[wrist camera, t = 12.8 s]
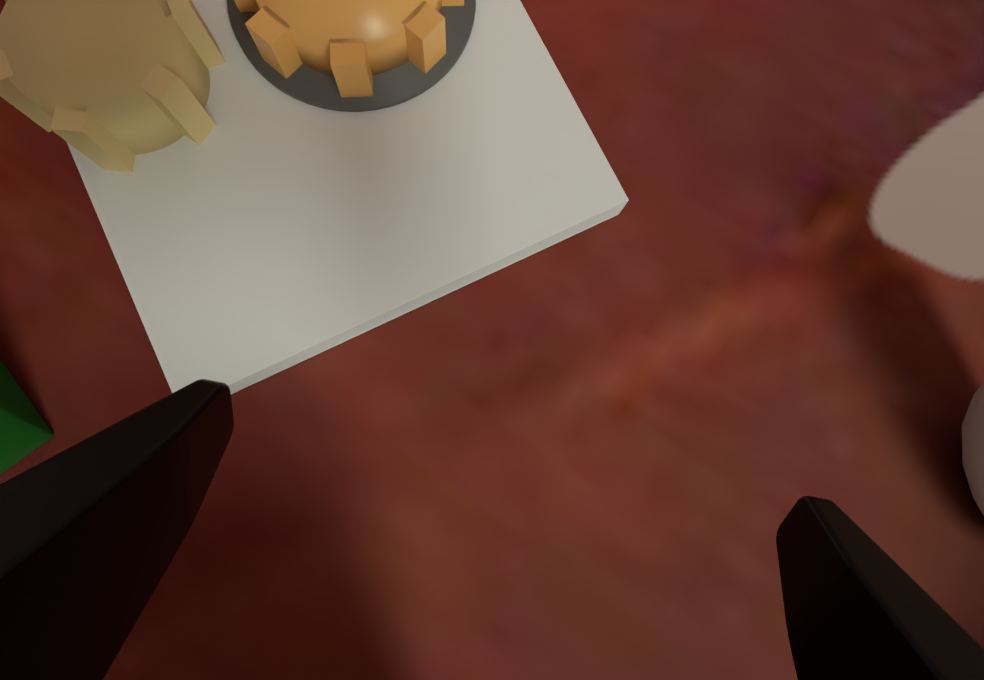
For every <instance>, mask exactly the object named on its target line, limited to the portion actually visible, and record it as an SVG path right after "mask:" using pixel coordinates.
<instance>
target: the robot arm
mask: <svg viewBox="0 0 984 680" xmlns="http://www.w3.org/2000/svg"><path fill="white" fill-rule="evenodd" d="M233 424H234V421H233V411H232V402H231V392H230V388H229V386H228V385H227V384H225V383H223V382H218V381H212V380H207V379H200V380H197V381H194V382H192V383H191V384H189V385H187V386H185V387H183V388H181V389H179V390H177V391H176V392H174V393H172V394H170V395H168V396H166V397H164V398H162V399H160V400H159V401H157V402H155V403H153V404H151V405H149V406H147V407H145V408H144V409H142V410H140V411H138V412H136V413H134V414H132V415H130V416H128V417H127V418H125V419H123V420H121V421H119V422H117V423H115V424H113V425H112V426H110V427H108V428H106V429H104V430H102V431H100V432H98V433H96V434H95V435H93V436H91V437H89V438H87V439H85V440H83V441H81V442H80V443H78V444H76V445H74V446H72V447H70V448H68V449H66V450H64V451H63V452H61V453H59V454H57V455H55V456H53V457H51V458H49V459H48V460H46V461H44V462H42V463H40V464H38V465H36V466H34V467H32V468H31V469H29V470H27V471H25V472H23V473H21V474H19V475H17V476H16V477H14V478H12V479H10V480H8V481H6V482H4V483H2V484H0V680H103V678H104V676H105V675H106V673H107V671H108V670H109V668H110V666H111V664H112V663H113V661H114V659H115V657H116V656H117V654H118V652H119V651H120V649H121V647H122V645H123V644H124V642H125V640H126V638H127V637H128V635H129V633H130V632H131V630H132V628H133V626H134V625H135V623H136V621H137V620H138V618H139V616H140V614H141V613H142V611H143V609H144V607H145V606H146V604H147V602H148V601H149V599H150V597H151V595H152V594H153V592H154V590H155V588H156V587H157V585H158V583H159V582H160V580H161V578H162V576H163V575H164V573H165V571H166V569H167V568H168V566H169V564H170V563H171V561H172V559H173V557H174V556H175V554H176V552H177V551H178V549H179V547H180V545H181V544H182V542H183V540H184V538H185V537H186V535H187V533H188V531H189V529H190V527H191V526H192V524H193V522H194V519H195V517H196V515H197V513H198V511H199V509H200V506H201V504H202V502H203V499H204V497H205V495H206V493H207V490H208V488H209V486H210V483H211V481H212V479H213V477H214V474H215V472H216V470H217V467H218V465H219V463H220V460H221V458H222V456H223V454H224V451H225V449H226V447H227V444H228V442H229V440H230V437H231V435H232V431H233ZM776 544H777V552H778V560H779V569H780V577H781V585H782V593H783V601H784V610H785V618H786V625H787V631H788V637H789V642H790V647H791V652H792V656H793V660H794V665H795V669H796V673H797V678H798V680H984V648H983V647H982V646H981V645H980V644H979V643H978V642H977V641H976V640H975V639H974V638H973V637H972V636H971V635H970V634H968V633H967V632H966V631H965V630H964V629H963V628H962V627H961V626H960V625H959V624H958V623H957V622H956V621H955V620H954V619H953V618H952V617H951V616H950V615H949V614H948V613H947V612H946V611H945V610H944V609H943V608H942V607H941V606H940V605H939V604H938V603H937V602H936V601H935V600H934V599H932V598H931V597H930V596H929V595H928V594H927V593H926V592H925V591H924V590H923V589H922V588H921V587H920V586H919V585H918V584H917V583H916V582H915V581H914V580H913V579H912V578H911V577H910V576H909V575H908V574H907V573H906V572H905V571H904V570H903V569H902V568H901V567H900V566H899V565H898V564H897V563H895V562H894V561H893V560H892V559H891V558H890V557H889V556H888V555H887V554H886V553H885V552H884V551H883V550H882V549H881V548H880V547H879V546H878V545H877V544H876V543H875V542H874V541H873V540H872V539H871V538H870V537H869V536H868V535H867V534H866V533H865V532H864V531H863V530H862V529H861V528H860V527H858V526H857V525H856V524H855V523H854V522H853V521H852V520H851V519H850V518H849V517H848V516H847V515H846V514H845V513H844V512H843V511H842V510H841V509H840V508H839V507H838V506H837V505H836V504H835V503H833V502H832V501H830V500H827V499H822V498H817V497H812V496H804V497H802V498H800V499H799V500H798V501H797V502H796V504H795V505H794V507H793V508H792V509H791V511H790V512H789V514H788V515H787V516H786V518H785V519H784V520H783V522H782V523H781V525H780V526H779V528H778V531H777V536H776Z"/></svg>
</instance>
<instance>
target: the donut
mask: <svg viewBox="0 0 984 680" xmlns="http://www.w3.org/2000/svg"><path fill="white" fill-rule="evenodd" d="M962 464H963V467H964V470H965V474H966V477H967V480H968V483H969V486H970V490H971V493H972V496H973V498H974V500H975V502H976V504H977V506H978V507H979V509H980V511H981V513H982V514H983V516H984V383H983V384H982V385H981V386H980V387H979V388H978V389H977V391H976V392H975V394H974V396H973V397H972V400H971V402H970V405H969V407H968V410H967V413H966V415H965V418H964V420H963V423H962Z"/></svg>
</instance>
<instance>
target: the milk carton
mask: <svg viewBox="0 0 984 680" xmlns="http://www.w3.org/2000/svg"><path fill="white" fill-rule="evenodd" d="M53 436H54V435H53V433H52V432H51V430H50V429H49V428H48V426H47V425H46V423H45V422H44V420H43V419H42V418H41V416H40V415H39V413H38V412H37V410H36V409H35V408H34V406H33V405H32V403H31V402H30V400H29V399H28V398H27V396H26V395H25V393H24V392H23V390H22V389H21V388H20V386H19V385H18V383H17V382H16V381H15V379H14V378H13V376H12V375H11V373H10V372H9V371H8V369H7V368H6V366H5V365H4V363H3V362H2V361H1V359H0V474H1V473H3V472H4V471H6V470H7V469H8V468H10V467H11V466H13V465H14V464H15V463H17V462H18V461H20V460H21V459H22V458H24V457H25V456H27V455H28V454H29V453H31V452H32V451H34V450H35V449H36V448H38V447H39V446H41V445H42V444H43V443H45V442H46V441H48V440H49V439H50V438H52V437H53Z"/></svg>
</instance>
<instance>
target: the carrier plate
mask: <svg viewBox="0 0 984 680" xmlns="http://www.w3.org/2000/svg"><path fill="white" fill-rule="evenodd" d="M4 1H5V2H6V4H5V5H4V8H3V10H2V12H1V14H0V97H2V98H3V99H4V100H6V101H7V102H8V103H10V104H11V105H13V106H14V107H15V108H17V109H18V110H19V111H21V112H22V113H23V114H25V115H26V116H27V117H29V118H30V119H31V120H33V121H34V122H35V123H37V124H38V125H39V126H41V127H42V128H43V129H45V130H46V131H47V132H51V131H53V132H55V133H56V134H57V135H59V136H60V137H61V138H63V139H64V140H65V141H66V142H67V144H68V147H69V149H70V151H71V154H72V156H73V159H74V161H75V163H76V166H77V168H78V170H79V173H80V175H81V178H82V180H83V182H84V185H85V187H86V189H87V192H88V194H89V197H90V199H91V201H92V204H93V206H94V208H95V211H96V213H97V216H98V218H99V220H100V223H101V225H102V227H103V230H104V232H105V235H106V237H107V239H108V242H109V244H110V246H111V249H112V251H113V254H114V256H115V258H116V261H117V263H118V265H119V268H120V270H121V273H122V275H123V277H124V280H125V282H126V284H127V287H128V289H129V292H130V294H131V296H132V299H133V301H134V303H135V306H136V308H137V311H138V313H139V315H140V318H141V320H142V322H143V325H144V327H145V330H146V332H147V334H148V337H149V339H150V342H151V344H152V346H153V349H154V351H155V353H156V356H157V358H158V361H159V363H160V365H161V368H162V370H163V372H164V375H165V377H166V380H167V382H168V384H169V387H170V389H171V391H172V393H174V392H176V391H177V390H179V389H181V388H183V387H185V386H187V385H189V384H191V383H192V382H194V381H197V380H200V379H207V380H212V381H218V382H223V383H225V384H227V385H228V386H229V388H230V392H231V394H233V393H235V392H237V391H240V390H242V389H244V388H246V387H248V386H250V385H252V384H255V383H257V382H259V381H261V380H263V379H265V378H268V377H270V376H272V375H274V374H276V373H278V372H280V371H283V370H285V369H287V368H289V367H291V366H293V365H296V364H298V363H300V362H302V361H304V360H306V359H308V358H311V357H313V356H315V355H317V354H319V353H321V352H324V351H326V350H328V349H330V348H332V347H334V346H336V345H339V344H341V343H343V342H345V341H347V340H349V339H352V338H354V337H356V336H358V335H360V334H362V333H364V332H367V331H369V330H371V329H373V328H375V327H377V326H380V325H382V324H384V323H386V322H388V321H390V320H392V319H395V318H397V317H399V316H401V315H403V314H405V313H408V312H410V311H412V310H414V309H416V308H418V307H420V306H423V305H425V304H427V303H429V302H431V301H433V300H436V299H438V298H440V297H442V296H444V295H446V294H448V293H451V292H453V291H455V290H457V289H459V288H461V287H463V286H466V285H468V284H470V283H472V282H474V281H476V280H479V279H481V278H483V277H485V276H487V275H489V274H491V273H494V272H496V271H498V270H500V269H502V268H504V267H507V266H509V265H511V264H513V263H515V262H517V261H519V260H522V259H524V258H526V257H528V256H530V255H532V254H535V253H537V252H539V251H541V250H543V249H545V248H547V247H550V246H552V245H554V244H556V243H558V242H560V241H563V240H565V239H567V238H569V237H571V236H573V235H575V234H578V233H580V232H582V231H584V230H586V229H588V228H591V227H593V226H595V225H597V224H599V223H601V222H603V221H606V220H608V219H610V218H612V217H614V216H616V215H619V213H620V212H621V210H622V209H623V208H624V206H625V205H626V203H627V202H628V201H629V200H628V198H627V196H626V194H625V192H624V190H623V189H622V187H621V185H620V183H619V181H618V179H617V178H616V176H615V174H614V172H613V170H612V168H611V167H610V165H609V163H608V161H607V159H606V157H605V156H604V154H603V152H602V150H601V148H600V146H599V144H598V143H597V141H596V139H595V137H594V135H593V133H592V132H591V130H590V128H589V126H588V124H587V122H586V121H585V119H584V117H583V115H582V113H581V111H580V110H579V108H578V106H577V104H576V102H575V100H574V99H573V97H572V95H571V93H570V91H569V89H568V88H567V86H566V84H565V82H564V80H563V78H562V77H561V75H560V73H559V71H558V69H557V67H556V66H555V64H554V62H553V60H552V58H551V56H550V55H549V53H548V51H547V49H546V47H545V45H544V44H543V42H542V40H541V38H540V36H539V34H538V33H537V31H536V29H535V27H534V25H533V23H532V21H531V20H530V18H529V16H528V14H527V12H526V10H525V9H524V7H523V5H522V3H521V1H520V0H464V6H442V11H441V15H442V16H444V17H445V32H446V54H445V55H444V56H443V57H442V58H441V59H440V60H439V61H438V62H437V63H436V64H435V65H434V66H433V67H432V68H431V69H430V70H429V71H428V72H427V73H426V74H425V73H424V72H422V71H421V70H420V69H419V68H418V67H416V66H415V65H414V64H413V63H412V62H410V61H409V60H408V61H407V62H405V63H404V64H402V65H400V66H398V67H396V68H394V69H392V70H389V71H387V72H384V73H381V74H377V75H372V78H373V96H365V97H341V95H340V92H339V89H338V86H337V83H336V80H335V77H334V76H333V75H329V74H325V73H322V72H319V71H316V70H314V69H311V68H309V67H307V66H305V65H304V64H302V65H301V66H300V67H299V68H298V69H297V70H296V71H294V72H293V73H292V74H291V75H290V76H289V77H288V78H287V79H286V78H285V77H283V76H282V75H281V74H280V73H279V72H278V71H276V70H275V69H274V68H273V67H272V66H270V65H269V64H268V63H267V62H266V61H265V60H263V58H262V56H261V54H260V52H259V50H258V48H257V46H256V44H255V42H254V40H253V39H252V37H251V35H250V33H249V31H248V29H247V27H246V25H245V23H246V22H247V21H248V20H249V19H251V18H252V17H253V16H254V15H255V14H256V13H257V12H240V11H239V9H238V7H237V5H236V3H235V1H234V0H4Z"/></svg>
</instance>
